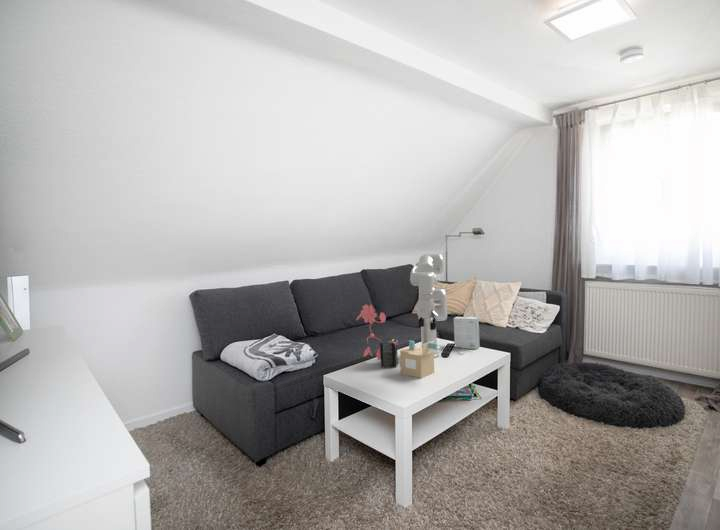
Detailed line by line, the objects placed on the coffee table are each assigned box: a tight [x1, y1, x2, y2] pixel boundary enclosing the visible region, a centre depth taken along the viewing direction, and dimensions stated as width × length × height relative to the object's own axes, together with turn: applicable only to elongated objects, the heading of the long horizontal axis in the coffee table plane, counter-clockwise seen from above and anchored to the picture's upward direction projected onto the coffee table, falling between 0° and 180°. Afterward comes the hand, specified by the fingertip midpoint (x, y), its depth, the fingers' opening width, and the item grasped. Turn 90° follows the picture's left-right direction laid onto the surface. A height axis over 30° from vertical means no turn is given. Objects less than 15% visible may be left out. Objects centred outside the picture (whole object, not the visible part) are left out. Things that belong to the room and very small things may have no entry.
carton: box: [399, 340, 435, 379], centre depth 228 cm, size 12×15×17 cm
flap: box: [421, 340, 438, 356], centre depth 220 cm, size 11×6×5 cm
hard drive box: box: [453, 316, 481, 350], centre depth 278 cm, size 16×8×20 cm, turn 60°
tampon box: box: [379, 338, 399, 368], centre depth 245 cm, size 11×9×15 cm
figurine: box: [355, 303, 387, 364], centre depth 256 cm, size 15×26×35 cm, turn 46°
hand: (427, 328), depth 222 cm, fingers open, 9 cm apart
